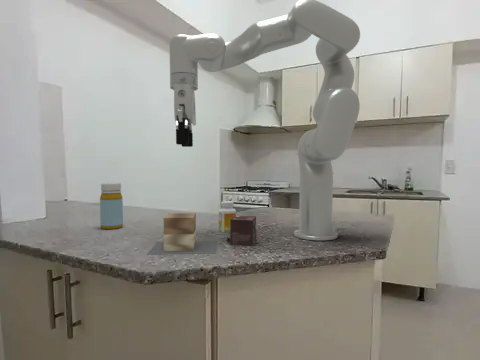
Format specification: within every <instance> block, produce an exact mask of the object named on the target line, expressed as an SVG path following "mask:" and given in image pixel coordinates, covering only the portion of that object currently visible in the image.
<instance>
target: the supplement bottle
mask: <svg viewBox="0 0 480 360" xmlns="http://www.w3.org/2000/svg"><path fill="white" fill-rule="evenodd" d="M234 204H235V201H231V200H227V201H226V200H223V201H221V202H220V206H221V208H219V209H218V232H220V233H230V219H232V218H233V217H235V216H237V211H236V208H234V207H235V205H234Z"/></svg>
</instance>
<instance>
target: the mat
mask: <svg viewBox="0 0 480 360" xmlns="http://www.w3.org/2000/svg"><path fill="white" fill-rule="evenodd" d="M217 248H218V241H217V240H216V241H215V240H213V241H212V240H209V241H207V240H206V241H205V240H204V241H202V240H201V241H197V240H196V245H195V248H194V251H164V241H157V242H156V243H155V244H154V245H153V246H152V248H151V249H150V250H148V252H147V253H146V255H147V256H148V255H151V256H152V255H203V254H204V255H205V254H207V255H208V254H209V255H210V254H217V250H218V249H217Z"/></svg>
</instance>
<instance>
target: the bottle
mask: <svg viewBox="0 0 480 360" xmlns="http://www.w3.org/2000/svg"><path fill="white" fill-rule="evenodd" d="M121 189H122V184H121V182H107V183H105V182H104V183H101V184H100V190H101V191H100V192H101V194H100V197H99V208H100V209H99V218H100V219H99V220H100V223H99V224H100V228H101V229H102V230H117V229H121V228H122V227H123V226H124V216H123V215H124V210H123V208H124V207H123V200H124V199H123V195H122V190H121Z"/></svg>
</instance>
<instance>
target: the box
mask: <svg viewBox="0 0 480 360" xmlns="http://www.w3.org/2000/svg"><path fill="white" fill-rule="evenodd" d="M229 233H230V237H229V238H230V239H229V240H230V241H229V242H230V243H229V244H230V246H239V247H240V246H242V247H243V246H244V247H247V246H248V247H253V246H254V245H255V244H256V243H257V216H253V215H252V216H250V215H248V216H247V215H238V216H237V215H236V216H235V217H233V218H232V219H230V232H229Z"/></svg>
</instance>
